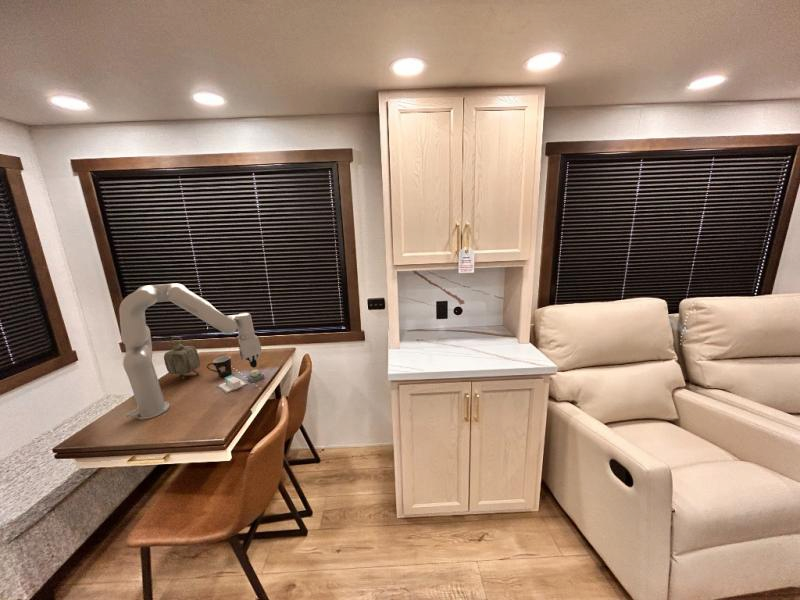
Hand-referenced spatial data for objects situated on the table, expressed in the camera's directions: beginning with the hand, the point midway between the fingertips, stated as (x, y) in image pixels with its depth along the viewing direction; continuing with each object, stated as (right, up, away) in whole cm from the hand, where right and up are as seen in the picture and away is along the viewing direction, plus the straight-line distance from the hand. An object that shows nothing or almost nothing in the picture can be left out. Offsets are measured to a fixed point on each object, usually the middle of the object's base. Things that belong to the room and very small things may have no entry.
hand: (254, 366), depth 167 cm
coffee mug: (-22, -7, +9) cm, 25 cm away
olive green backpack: (-44, -9, +10) cm, 46 cm away
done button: (0, -6, +1) cm, 6 cm away
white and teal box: (-9, -9, -5) cm, 13 cm away
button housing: (0, -7, +2) cm, 7 cm away
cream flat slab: (-10, -9, -4) cm, 14 cm away
